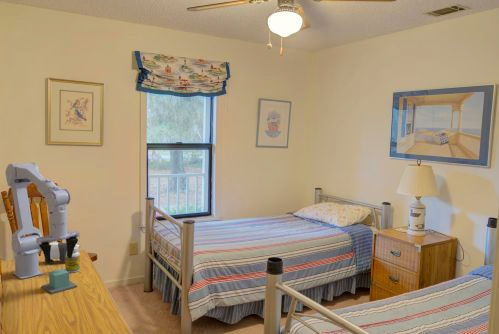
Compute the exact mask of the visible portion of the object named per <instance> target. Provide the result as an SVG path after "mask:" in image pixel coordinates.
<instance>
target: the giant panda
mask: <svg viewBox="0 0 499 334" xmlns="http://www.w3.org/2000/svg"><path fill="white" fill-rule="evenodd" d="M48 243H49V245H51V250H50V263H47V262H46V260H45V256H44V255H43V256H44V263H45V265H52V264H53V262H54V260H59V261H60V262H59V263H60V264H61V265H62V264H63V265H64V264H65V265H66V257H65V256H66V254H67V243H66V242H58V241H53V242H48ZM75 247H78V250H79V249H80V248H81V245H79V244H76V245H75Z"/></svg>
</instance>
